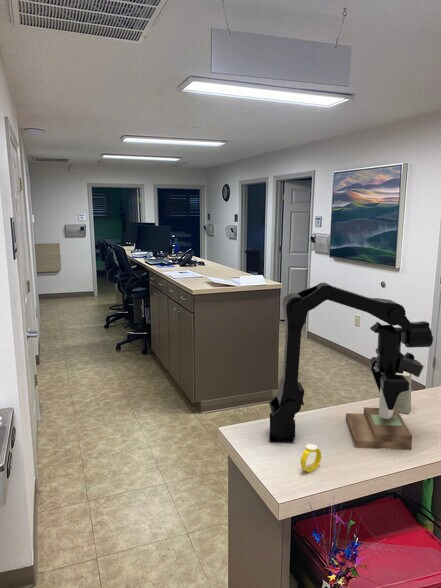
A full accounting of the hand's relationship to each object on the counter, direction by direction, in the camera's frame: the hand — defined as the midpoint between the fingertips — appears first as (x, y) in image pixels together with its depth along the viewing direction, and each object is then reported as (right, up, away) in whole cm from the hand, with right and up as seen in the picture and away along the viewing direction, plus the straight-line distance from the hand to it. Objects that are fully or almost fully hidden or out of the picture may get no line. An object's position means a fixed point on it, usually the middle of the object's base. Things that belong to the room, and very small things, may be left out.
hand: (386, 402), depth 118 cm
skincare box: (+10, -6, +16) cm, 20 cm away
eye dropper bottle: (0, -4, +1) cm, 4 cm away
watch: (-23, -13, -14) cm, 30 cm away
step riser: (-2, -9, +2) cm, 9 cm away
